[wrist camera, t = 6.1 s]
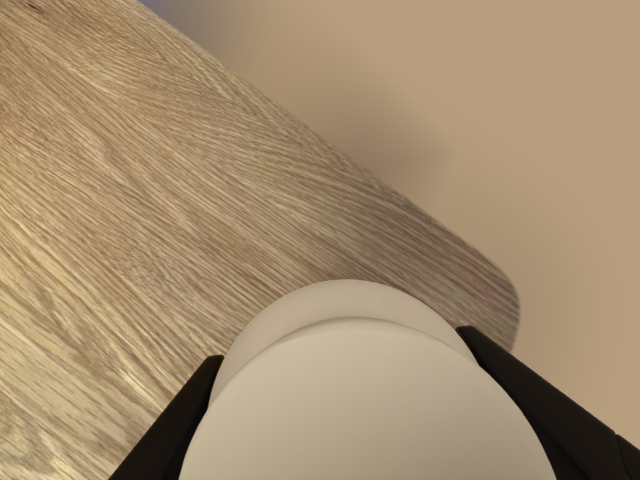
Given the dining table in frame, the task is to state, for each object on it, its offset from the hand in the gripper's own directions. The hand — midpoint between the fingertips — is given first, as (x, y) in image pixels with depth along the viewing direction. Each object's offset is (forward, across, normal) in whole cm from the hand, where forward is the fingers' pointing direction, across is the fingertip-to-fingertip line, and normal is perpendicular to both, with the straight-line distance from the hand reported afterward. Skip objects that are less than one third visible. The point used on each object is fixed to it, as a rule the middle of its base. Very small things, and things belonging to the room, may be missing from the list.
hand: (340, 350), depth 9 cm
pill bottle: (+4, 0, +6) cm, 7 cm away
